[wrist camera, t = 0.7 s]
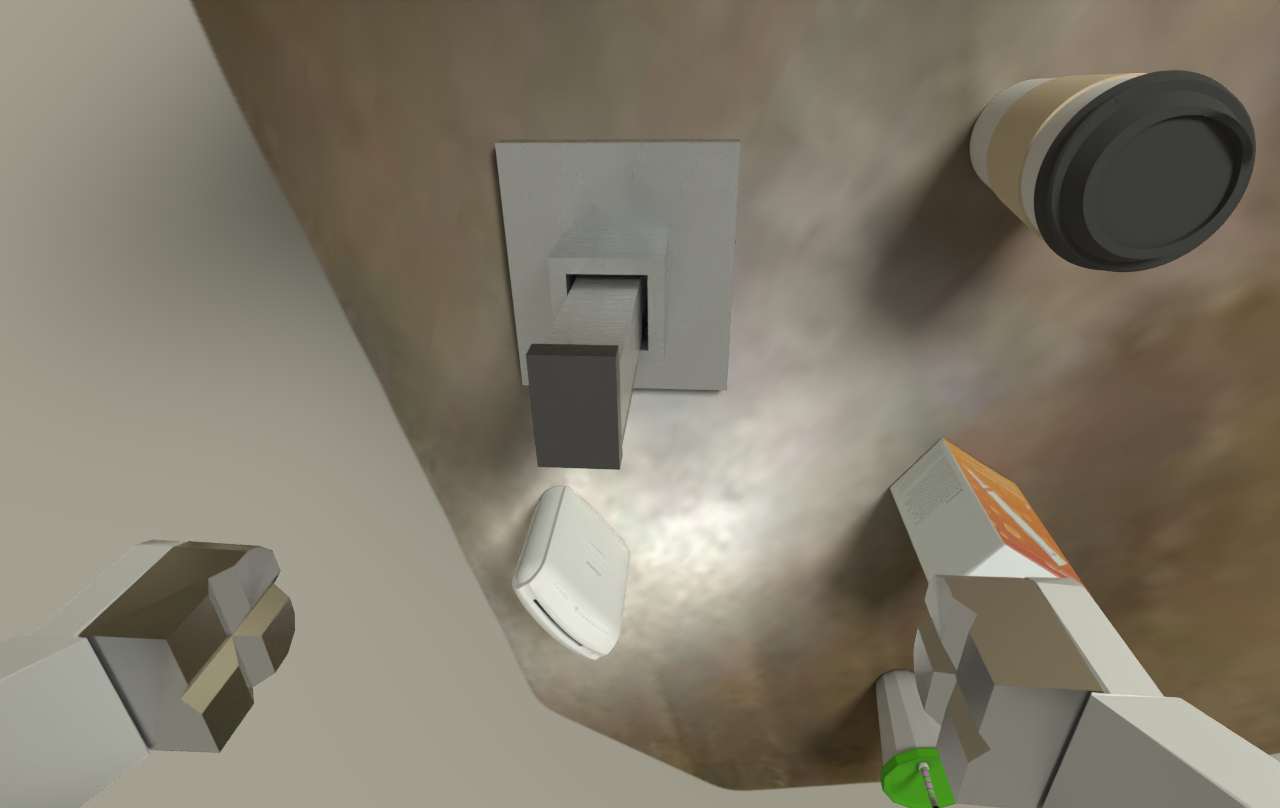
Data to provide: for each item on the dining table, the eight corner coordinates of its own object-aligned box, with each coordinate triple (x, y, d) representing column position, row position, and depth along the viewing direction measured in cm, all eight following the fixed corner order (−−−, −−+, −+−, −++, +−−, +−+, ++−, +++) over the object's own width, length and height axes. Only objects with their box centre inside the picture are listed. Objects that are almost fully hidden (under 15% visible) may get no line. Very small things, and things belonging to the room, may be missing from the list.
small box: (1016, 482, 55) (1097, 600, 44) (958, 530, 58) (1020, 653, 47) (941, 434, 53) (1006, 544, 42) (886, 486, 56) (932, 602, 45)
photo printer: (638, 551, 62) (624, 661, 51) (602, 570, 64) (582, 681, 53) (567, 476, 58) (536, 577, 48) (531, 498, 60) (493, 601, 49)
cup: (920, 715, 70) (970, 873, 57) (847, 701, 70) (881, 856, 57) (952, 666, 66) (1013, 824, 53) (875, 651, 66) (917, 805, 53)
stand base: (499, 140, 45) (413, 189, 32) (739, 139, 44) (755, 190, 30) (526, 378, 54) (467, 495, 40) (726, 383, 53) (734, 506, 39)
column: (589, 235, 46) (525, 354, 30) (647, 236, 46) (615, 356, 29) (593, 316, 49) (537, 466, 33) (648, 317, 49) (619, 469, 32)
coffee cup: (1002, 238, 46) (1122, 324, 33) (921, 140, 43) (1016, 191, 30) (1133, 135, 42) (1327, 185, 29) (1052, 22, 39) (1226, 21, 26)
